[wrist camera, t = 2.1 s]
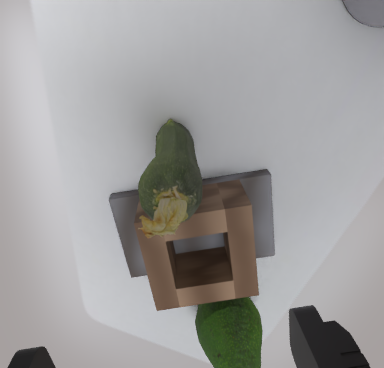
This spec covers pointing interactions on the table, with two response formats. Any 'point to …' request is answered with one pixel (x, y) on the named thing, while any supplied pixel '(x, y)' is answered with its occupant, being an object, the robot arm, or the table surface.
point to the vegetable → (170, 182)
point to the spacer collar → (203, 242)
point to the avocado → (230, 333)
